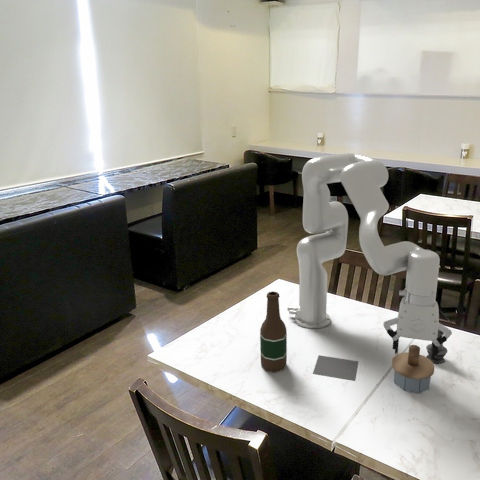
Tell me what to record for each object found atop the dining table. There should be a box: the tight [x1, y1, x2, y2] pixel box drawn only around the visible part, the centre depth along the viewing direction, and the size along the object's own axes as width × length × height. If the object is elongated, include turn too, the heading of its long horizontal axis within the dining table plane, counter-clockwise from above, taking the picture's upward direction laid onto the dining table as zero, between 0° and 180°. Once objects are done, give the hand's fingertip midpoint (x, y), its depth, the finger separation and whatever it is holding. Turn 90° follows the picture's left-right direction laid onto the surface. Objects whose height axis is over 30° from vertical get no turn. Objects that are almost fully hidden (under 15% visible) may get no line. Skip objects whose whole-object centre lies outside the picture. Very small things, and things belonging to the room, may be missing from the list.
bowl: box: [393, 370, 432, 395], centre depth 127 cm, size 9×9×5 cm
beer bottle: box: [259, 291, 288, 373], centre depth 134 cm, size 8×8×24 cm
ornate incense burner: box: [425, 329, 448, 365], centre depth 136 cm, size 6×6×12 cm
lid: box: [391, 344, 436, 379], centre depth 125 cm, size 11×11×6 cm
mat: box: [312, 354, 359, 382], centre depth 135 cm, size 12×10×1 cm
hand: (414, 353), depth 125 cm, fingers open, 9 cm apart
